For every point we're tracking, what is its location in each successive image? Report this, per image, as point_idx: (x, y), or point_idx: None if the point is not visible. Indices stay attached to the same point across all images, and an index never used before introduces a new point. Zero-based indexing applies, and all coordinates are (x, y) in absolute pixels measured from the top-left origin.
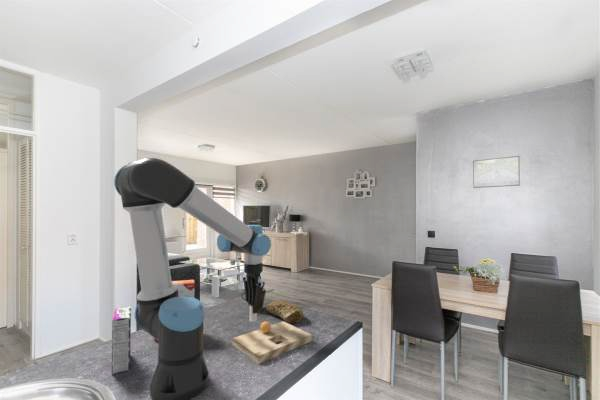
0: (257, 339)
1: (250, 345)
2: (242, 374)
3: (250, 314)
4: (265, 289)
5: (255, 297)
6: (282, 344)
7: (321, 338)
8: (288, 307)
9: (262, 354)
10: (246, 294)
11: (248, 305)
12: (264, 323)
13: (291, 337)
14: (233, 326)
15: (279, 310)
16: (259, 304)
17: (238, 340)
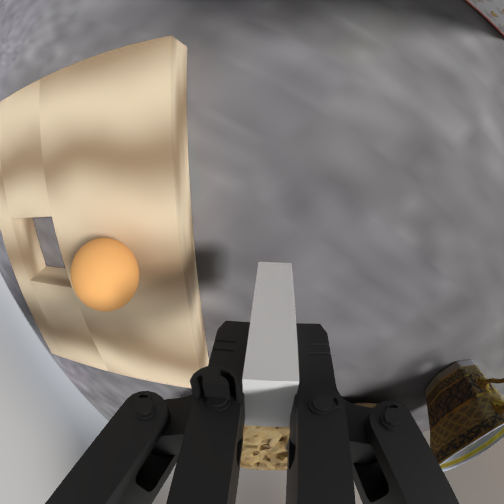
0: (67, 167)
1: (39, 105)
2: (3, 45)
3: (272, 299)
4: None
5: (100, 487)
6: (8, 236)
7: (73, 364)
8: (250, 456)
9: None
10: (412, 492)
11: (479, 370)
12: (78, 276)
13: (42, 300)
14: (425, 203)
15: (286, 433)
16: (435, 405)
17: (116, 60)
